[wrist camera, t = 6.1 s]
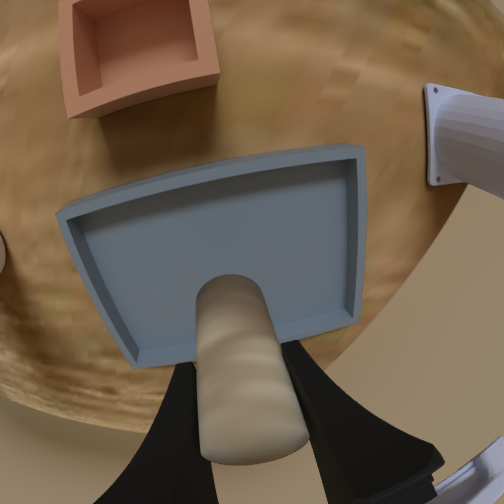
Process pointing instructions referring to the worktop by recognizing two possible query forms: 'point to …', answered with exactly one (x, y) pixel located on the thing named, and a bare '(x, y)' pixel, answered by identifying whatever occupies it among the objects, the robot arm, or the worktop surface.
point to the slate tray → (224, 246)
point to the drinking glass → (2, 254)
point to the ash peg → (242, 378)
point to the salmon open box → (133, 52)
